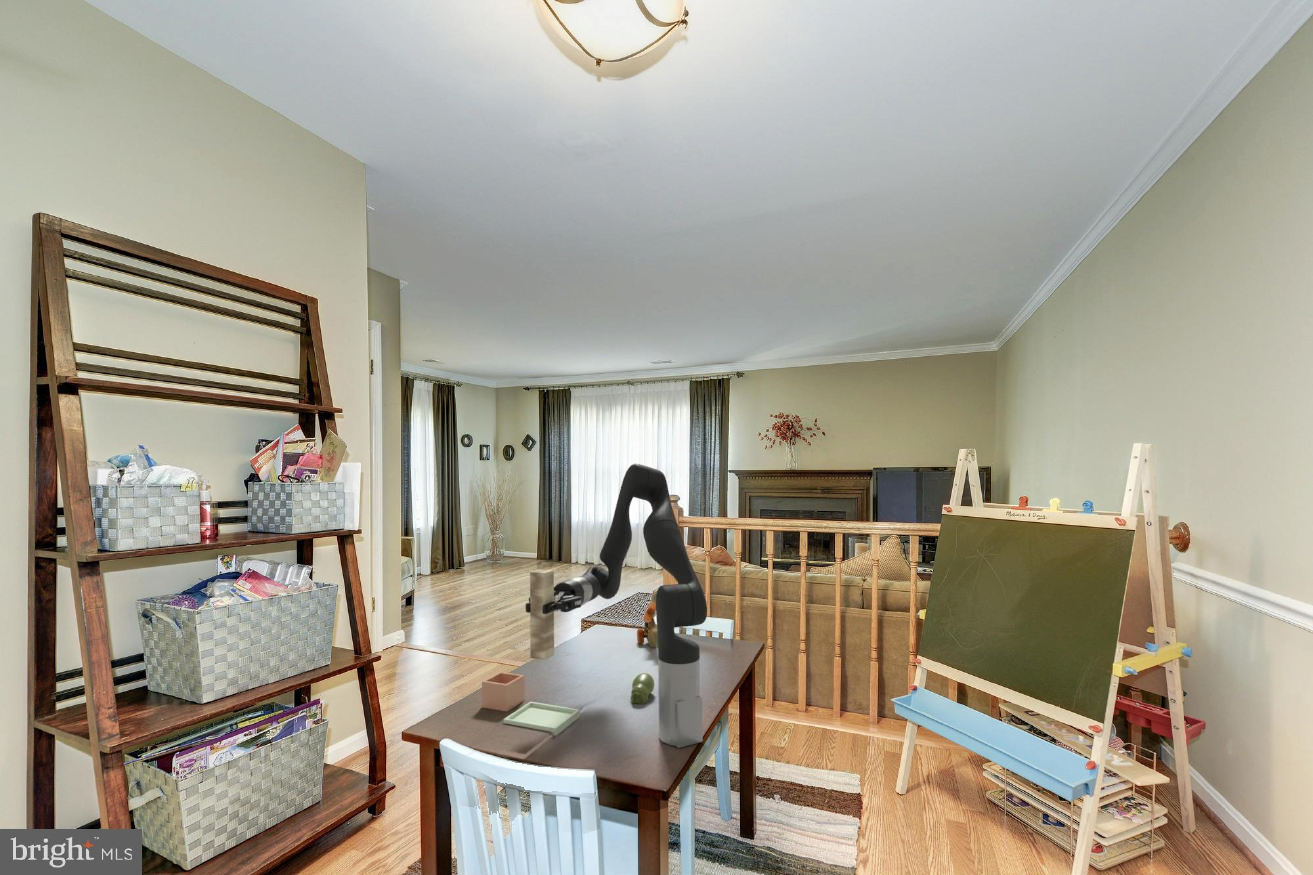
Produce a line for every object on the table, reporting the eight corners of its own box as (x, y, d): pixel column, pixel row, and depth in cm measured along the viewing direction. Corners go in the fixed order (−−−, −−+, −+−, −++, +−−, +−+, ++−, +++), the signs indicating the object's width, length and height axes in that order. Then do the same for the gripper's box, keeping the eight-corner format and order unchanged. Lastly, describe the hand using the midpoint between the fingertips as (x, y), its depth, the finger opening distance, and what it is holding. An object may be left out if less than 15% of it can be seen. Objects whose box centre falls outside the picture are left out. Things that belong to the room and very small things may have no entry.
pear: (656, 670, 158) (647, 690, 148) (657, 689, 159) (648, 710, 149) (635, 668, 159) (625, 688, 150) (636, 687, 160) (626, 708, 150)
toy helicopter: (659, 639, 206) (659, 598, 206) (672, 658, 185) (671, 613, 186) (636, 640, 204) (635, 600, 205) (646, 659, 184) (646, 614, 184)
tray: (580, 716, 143) (580, 709, 143) (555, 735, 132) (555, 728, 132) (530, 708, 148) (530, 701, 148) (503, 726, 138) (503, 719, 138)
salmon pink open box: (524, 703, 151) (524, 675, 151) (506, 714, 144) (506, 685, 144) (500, 699, 154) (500, 671, 154) (481, 710, 147) (481, 681, 147)
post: (554, 654, 142) (553, 570, 143) (545, 659, 138) (544, 573, 139) (539, 652, 143) (539, 569, 144) (530, 658, 140) (530, 572, 141)
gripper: (548, 577, 157) (509, 590, 141) (596, 580, 152) (561, 594, 136) (549, 606, 157) (509, 622, 141) (597, 610, 152) (562, 628, 136)
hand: (535, 608), depth 139 cm, fingers closed on post, 4 cm apart
